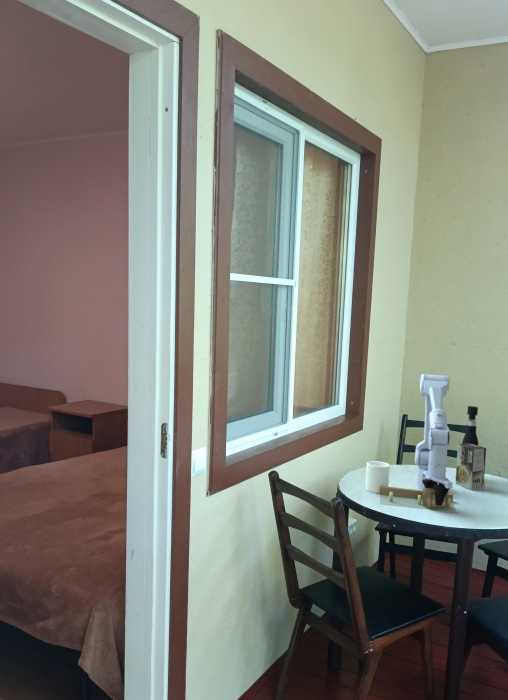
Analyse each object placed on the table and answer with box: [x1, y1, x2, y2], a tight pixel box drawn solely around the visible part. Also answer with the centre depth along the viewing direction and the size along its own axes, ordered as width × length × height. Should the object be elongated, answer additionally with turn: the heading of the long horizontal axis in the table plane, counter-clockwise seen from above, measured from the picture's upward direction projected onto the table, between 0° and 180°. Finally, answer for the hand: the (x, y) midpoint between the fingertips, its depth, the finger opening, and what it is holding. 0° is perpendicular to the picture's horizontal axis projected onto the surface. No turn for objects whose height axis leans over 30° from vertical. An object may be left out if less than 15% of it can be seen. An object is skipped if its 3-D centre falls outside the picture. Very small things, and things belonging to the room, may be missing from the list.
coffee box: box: [455, 443, 487, 491], centre depth 219 cm, size 9×6×16 cm
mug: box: [364, 460, 390, 494], centre depth 209 cm, size 12×8×10 cm
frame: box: [422, 488, 449, 510], centre depth 191 cm, size 4×7×6 cm, turn 108°
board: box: [379, 486, 457, 514], centre depth 195 cm, size 12×25×4 cm, turn 78°
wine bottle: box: [461, 405, 480, 446], centre depth 228 cm, size 6×6×30 cm
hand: (434, 502), depth 191 cm, fingers closed on frame, 4 cm apart
